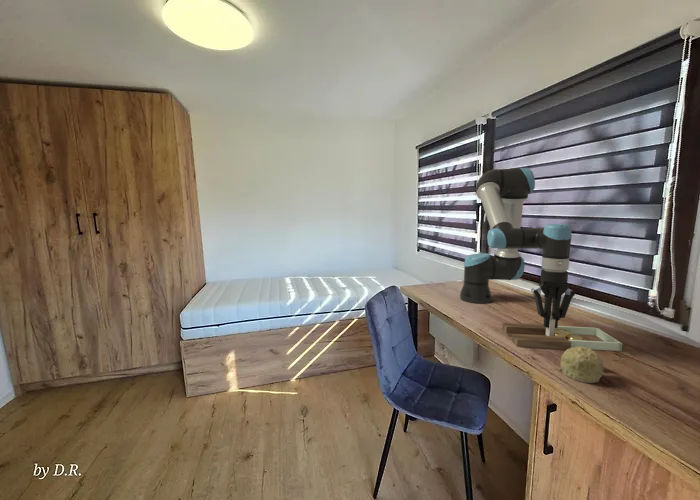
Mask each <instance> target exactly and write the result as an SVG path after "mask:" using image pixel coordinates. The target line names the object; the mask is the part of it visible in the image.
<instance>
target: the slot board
mask: <svg viewBox="0 0 700 500" xmlns="http://www.w3.org/2000/svg"><path fill="white" fill-rule="evenodd" d="M501 330H503V331H504V333H505V334H506V335H507V336H508V337H509V339H510V340H511V341H512V343H513V344H514V345H515V347H517V348H518V347H519V348H532V349H533V348H535V349H553V350H564V351H566V350H567V349H569V348H571V342H570V341H569V340H568V339H567V338H565V337H561V336H547V335H546V327H545V326H544V323H527V322H526V323H525V322H506V321H505V322H504V321H503V322H502V329H501ZM554 331H555V330H554Z"/></svg>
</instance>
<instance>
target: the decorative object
mask: <svg viewBox="0 0 700 500" xmlns="http://www.w3.org/2000/svg"><path fill="white" fill-rule="evenodd" d="M560 371H561V373H562V374H563V375H565V376H566V377H568V378H570V379H571V380H574V381H577V382H581V383H586V384H595V383H599V382H600V379H601V377H602V376H603V373H604V361H603V359H602V358H601V357H600V356H599V354H598V353H597V351H594V350H593V349H589V348H586V347H580V346H578V347H575V348H574V347H572V348H569V349H567V350H564V352H562V354H561V357H560Z"/></svg>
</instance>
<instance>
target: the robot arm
mask: <svg viewBox="0 0 700 500" xmlns="http://www.w3.org/2000/svg"><path fill="white" fill-rule="evenodd" d="M535 187H536V178H535V176H534V172H533V171H532V170H531V169H530V168H528V167H513V168H494V169H490V170H488V171H486V172H484V173H483V174H482V175H481V176H480V177H479V179H478V180H477V182H476V185H475V194H476V196H477V199H479V200H480V201H481V204H482V206H483V209H484V212H485V216H486V219H487V222H488V225H489V228H490V229H489V230H488V232H487V236H486V237H487V245H488V247H489V248H491V249H497V250H495V251H494V253H493V256H491V255H490V254H489V253H484V252H483V253H482V252H481V253H479V252H478V253H473V254H469V255H467V256H465V257H464V263H463V266H464V267H463V271H464V272H463V276H464V277H463V286H462V288H461V291H460V293H459V299H460V300H462V301H463V302H467V303H472V304H487V303H488V304H489V303H491V302H492V301H493V296H492V293H491V289H490V286H489V280H490V281H491V280H492V281H494V280H496V281H501V280H502V281H503V280H504V281H514V280H515V281H516V280H519V279H520V278H521V277H522V276H523V274H524V272H525V259H524V258H523V256H522V255H521V253H520V252H519V250H518V249H528V250H529V249H531V250H532V249H534V250H535V249H538V250H539V249H540V250H542V255H541V256H542V257H541V268H542V269H541V271H540V282H539V283H538V286H537V287H535V288H534V287H533V288H531V289H530V291H531V293H532V294H533V296H534V299H535V300H534V301H535V306H536V310H537V314H538V316H540V317H541V318H543V324H544V326H545V327H546V335H547V336H554V330H555V328H557V327H558V326H559V321H560V320H561V319H564V318H566V314H567V313H568V310H569V307H570V304H571V302H572V299H573V298H574V296H575V295H577V293H576V291H574V290H573V289H570V288H569V286H568V280H569V279H568V278H569V272H568V270H569V269H570V267H569V265H570V256H571V254H570V253H571V243H572V242H571V241H572V237H573V235H572V226H571V225H570V224H568V223H548V224H545V226H544V227H533V228H532V227H530V228H529V227H528V228H527V227H525V228H523V227H522V228H521V225H522V224H521V223H522V216H523V207H524V202H525V201H526V200H528V198H529V195H530V194H533V193H534V190H535ZM542 293H543V295H544V297H543V298H544V302H543V299H542V296H541V294H542ZM562 296H563V297H562Z"/></svg>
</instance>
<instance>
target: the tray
mask: <svg viewBox="0 0 700 500" xmlns="http://www.w3.org/2000/svg"><path fill="white" fill-rule="evenodd" d="M559 329H563V330H568V331H570V332H571V333H572V334H576V335H579V336H582V335H583V336H596V337H597V338H599V339H600V340H601V341H600V340H583V339H582V340H569V341H570V342H571V348H572V347H574V348H575V347H578V346H580V347H586V348H589V349H591V350H593V351H594V350H596V351H611V352H612V351H613V352H615V351H616V352H622V351H623V343H622V342H621V341H619V340H618V339H616V338H614V337H613V336H611V335H610V334H608V333H606V332H605V331H604V330H602V329H600V328H599V327H592V326H591V327H589V326H586V327H585V326H569V325H568V326H567V325H558V327H557V328H555V331H558V330H559Z"/></svg>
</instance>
